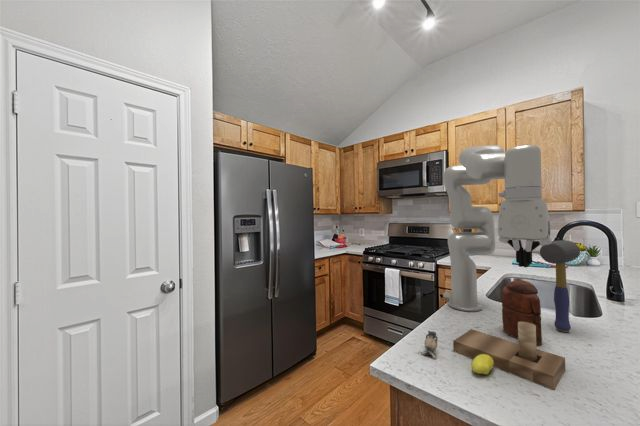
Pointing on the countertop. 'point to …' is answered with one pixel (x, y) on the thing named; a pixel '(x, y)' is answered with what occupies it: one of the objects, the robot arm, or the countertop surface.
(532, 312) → the wooden figurine
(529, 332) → the dowel
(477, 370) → the lemon
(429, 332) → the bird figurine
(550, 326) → the countertop surface
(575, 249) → the rubber mallet
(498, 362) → the board
